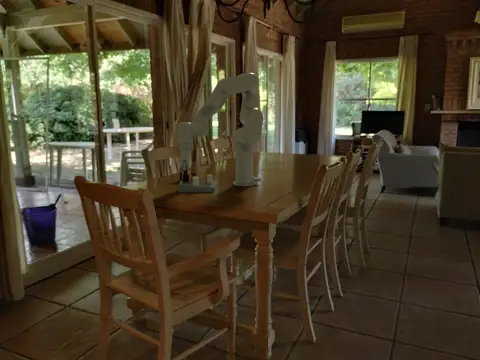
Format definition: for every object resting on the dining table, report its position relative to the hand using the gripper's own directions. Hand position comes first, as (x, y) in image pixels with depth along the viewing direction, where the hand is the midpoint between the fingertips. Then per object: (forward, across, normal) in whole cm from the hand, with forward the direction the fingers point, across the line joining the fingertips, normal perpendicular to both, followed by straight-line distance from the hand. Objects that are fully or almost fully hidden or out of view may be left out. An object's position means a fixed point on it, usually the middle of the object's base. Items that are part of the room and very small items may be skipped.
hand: (186, 180), depth 212 cm
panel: (+5, 0, +6) cm, 7 cm away
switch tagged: (+2, -3, +12) cm, 12 cm away
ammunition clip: (+5, -24, -3) cm, 25 cm away
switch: (+2, +4, +5) cm, 7 cm away
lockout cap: (+1, 0, 0) cm, 1 cm away
